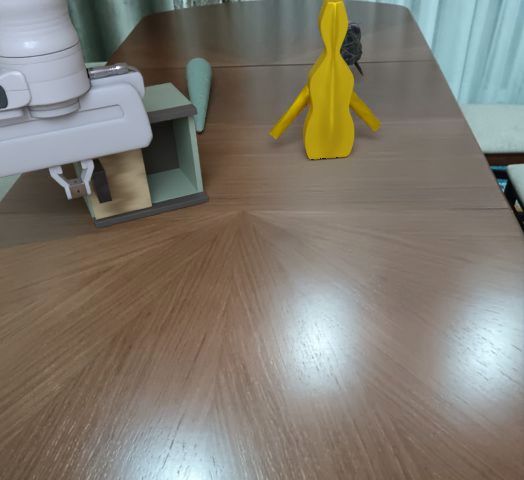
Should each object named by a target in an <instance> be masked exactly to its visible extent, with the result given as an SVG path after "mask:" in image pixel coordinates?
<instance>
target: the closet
mask: <svg viewBox="0 0 524 480" xmlns="http://www.w3.org/2000/svg"><path fill="white" fill-rule="evenodd" d="M143 104H144V107H145V109H146V112H147V115H148V119H149V122H150V126H151V130H152V135H153V138H152V140H151V142H150V144H149V146H148V147H145V148H141V152H142V157H143V162H144V167H145V172H146V177H147V182H148V187H149V192H150V197H151V202H152V206H151V207H147V208H143V209H139V210H135V211H130V212H126V213H122V214H118V215H113V216H109V217H105V218H101V219H97V220H96V218H95V215H94V211H93V208H92V204H91V200H90V197H89V195H87V196H82V198H83V199H84V202H85V205H86V207H87V209H88V212H89V214H90V217H91V219H92V221H93V223H94V226H95V229H100V228H106V227H109V226H112V225H113V226H114V225H117V224H121V223H126V222H129V221H134V220H137V219H141V218H147V217H151V216H154V215H158V214H163V213H168V212H171V211H175V210H180V209H183V208H188V207H193V206H196V205H200V204H205V203H208V202H209V197H208V195H207V194H206V193H205V191H204V186H203V177H202V169H201V161H200V155H199V147H198V138H197V131H196V128H195V122H194V115H196V114H197V108H196V107H195V106H194V105H193V104H192V103H191V102H190V99H189V98H187V97H186V96H185V95H184V94H183V93H182V92H181V91H180V90H179V89H178V88H177V87H176V86H175V85H174V84H173V83H172V82H165V83H162V84H155V85H150V86H149V85H148V86H145V96H144V99H143ZM72 164H73V168H74V170H75V174H76V178H80V177H81V174H82V167H81V164H80V161H78V162H74V163H72Z"/></svg>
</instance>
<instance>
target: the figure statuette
mask: <svg viewBox="0 0 524 480" xmlns="http://www.w3.org/2000/svg"><path fill="white" fill-rule="evenodd" d="M348 21H349V19H348V14H347V11H346V6H345V2H344V1H343V0H322V4H321V7H320V10H319V13H318V15H317V26H318V31H319V35H320V37H321V39H322V42H323V50H322V51H321V53H320V55H319V56H318V58H317V60H316V61H315V62H314V63H313V65H312V67H311V68H310V70H309V72H308V74H307V80H306V83H305V84H304V85H303V87H302V88H301V90H300V92H299V93H298V94H297V96H296V98H295V99H294V101H293V102H292V104H291V105H290V106H289V107H288V109H286V111H284V113H283V114H282V115H281V117H280V118H279V119H278V121H277V122H276V123H275V124H274V125H273V126H272V128H271V129H270V130H269V132H268V134H269V135H270V136H271V137H273V138H274V139H275V140H278V139H279V138H280V137H281V136H282V134H284V132H285V131H286V130H287V129H288V127H290V125H292V123H293V122H294V121H295V120H296V119H297V117H298V116H299V115H300V114H301V113H302V112H303V111H304V110H305V109H306V107H307V106H309V107H308V110H307V113H306V116H305V119H304V122H303V127H302V140H303V146H304V148H305V153H306V155H307V157H308V159H309V160H311V159H314V160H323V159H322V158H326V159H336V157H338V158H346V157H348V156H349V155H350V154H351V152H352V149H353V146H354V141H355V124H354V120H353V117H352V114H351V111H350V109H351V110H352V111H353V112H354V114H356V115H357V116H358V118H359V119H361V121H362V122H364V123H365V124H366V125H367V126H368V127H369V128H370V129H371V130H372V131H373V132H375V133H376V132H377V131H378V129H380V128H381V126H382V124H381V122H380V121H379V120H378V118H377V117H376V115H375V114H374V113H373V112H372V110H371V109H370V108H369V106H368V105H367V104H366V103H365V102H364V101H363V100H362V99H361V98H360V97H359V96H358V93H356V92H355V90H354V87H355V78H354V77H355V76H354V74H353V72H352V70H351V68H350V67H349V66H348V65H347V64H346V62H345V61H344V59H343V58H342V56H341V55H340V48H341V45H342V43H343V40H344V38H345V36H346V33H347V29H348ZM320 158H321V159H320Z"/></svg>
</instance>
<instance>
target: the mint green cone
mask: <svg viewBox="0 0 524 480" xmlns="http://www.w3.org/2000/svg"><path fill="white" fill-rule="evenodd" d="M212 77H213V70H212V67H211V64H210V63H209V62H208V61H207V60H206V59H204V58H202V57H194V58H192V59H190V60H189V61H188V62H187V65H186V66H185V80H186V85H187V93H188V99H189V101H190V102H191V103H192V104H193V105H194V106H195V107H196V108H197V114H196V115H194V122H195V130H196V132H197V131H202V130H203V131H204V129H205V124H206V119H205V118H207V112H208V106H209V100H210V93H211V85H212Z"/></svg>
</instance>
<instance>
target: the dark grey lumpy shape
mask: <svg viewBox="0 0 524 480" xmlns="http://www.w3.org/2000/svg"><path fill="white" fill-rule="evenodd" d="M360 25H361V22H360V23H357V22H355V21H353V20H348V29H347V33H346V36H345V38H344V40H343V43H342V45H341V48H340V55H341V56H342V58H343V59H344V61H345V62H346V64H347V65H348V67H349V66H353V65H354V66H355V69H356V70H357V72H358V73H359V74H360V75H361V76H362V77H365V74H364V71H363V70H362V68H361V65H360V64H359V61H360V59H361V58H362V55H363V45H362V41H361V39H362V32H361V27H360Z"/></svg>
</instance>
